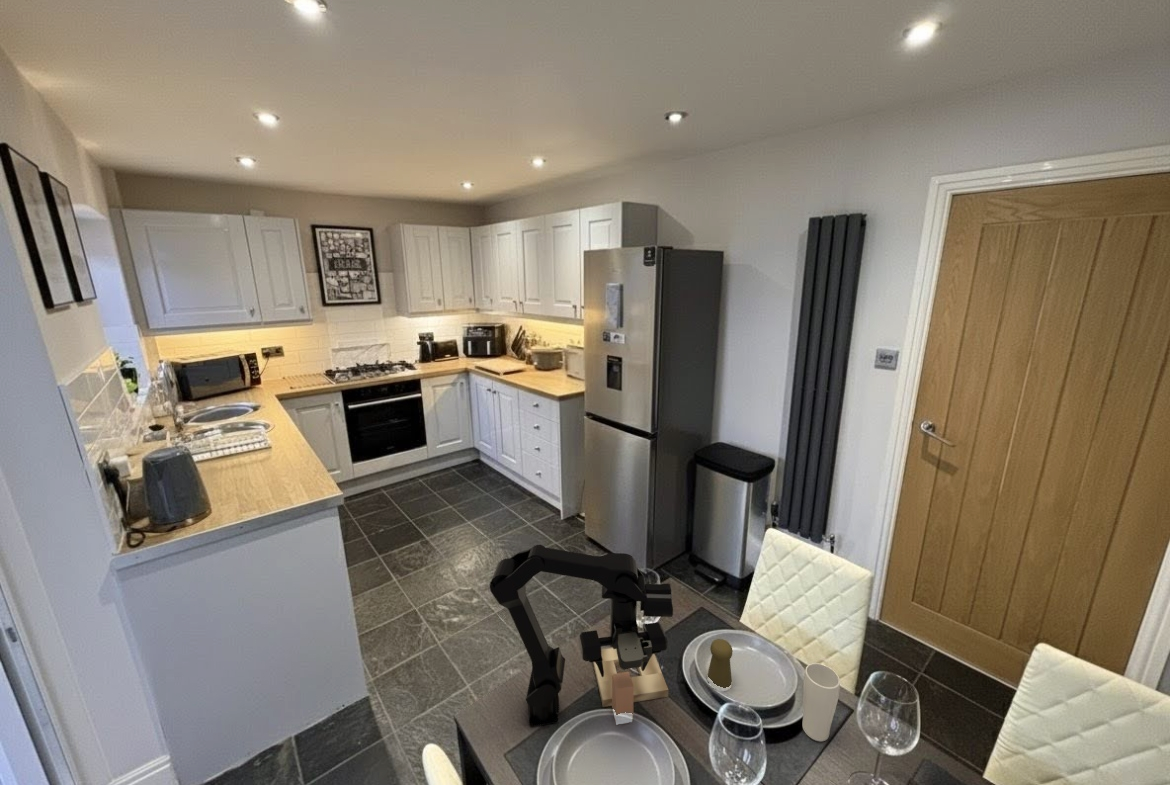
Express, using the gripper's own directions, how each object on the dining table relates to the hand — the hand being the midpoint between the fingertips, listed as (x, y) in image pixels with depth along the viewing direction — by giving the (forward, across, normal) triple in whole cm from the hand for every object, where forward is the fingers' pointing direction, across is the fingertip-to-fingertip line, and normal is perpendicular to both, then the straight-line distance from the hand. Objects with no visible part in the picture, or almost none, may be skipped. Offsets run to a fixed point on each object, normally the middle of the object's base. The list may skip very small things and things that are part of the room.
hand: (622, 672), depth 103 cm
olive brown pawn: (+12, +26, +5) cm, 29 cm away
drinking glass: (+12, +41, -11) cm, 44 cm away
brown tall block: (+12, 0, 0) cm, 12 cm away
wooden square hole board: (+12, +4, +11) cm, 17 cm away
